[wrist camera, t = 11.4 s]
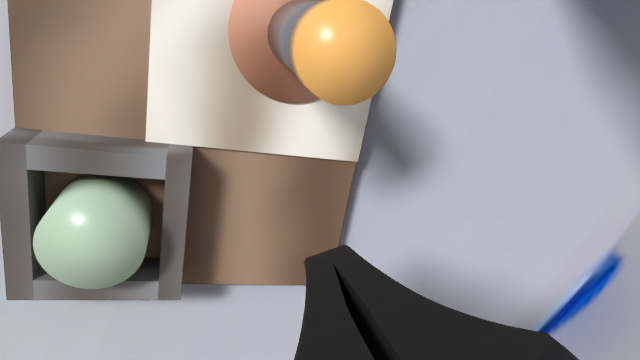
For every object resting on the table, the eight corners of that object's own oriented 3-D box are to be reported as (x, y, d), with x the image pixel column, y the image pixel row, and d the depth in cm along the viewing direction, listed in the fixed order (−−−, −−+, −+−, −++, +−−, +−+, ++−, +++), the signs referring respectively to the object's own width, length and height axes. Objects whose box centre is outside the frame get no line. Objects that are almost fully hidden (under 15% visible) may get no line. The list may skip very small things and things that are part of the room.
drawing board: (409, -120, 19) (443, -139, 16) (324, 275, 26) (339, 307, 23) (4, -244, 15) (-40, -298, 12) (32, 270, 21) (7, 309, 19)
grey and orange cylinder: (333, -3, 19) (399, -2, 12) (332, 69, 20) (392, 103, 14) (263, -3, 18) (296, -3, 12) (266, 71, 19) (297, 108, 13)
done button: (155, 175, 20) (148, 203, 17) (151, 252, 21) (144, 289, 18) (55, 167, 19) (30, 196, 16) (57, 249, 20) (35, 289, 17)
